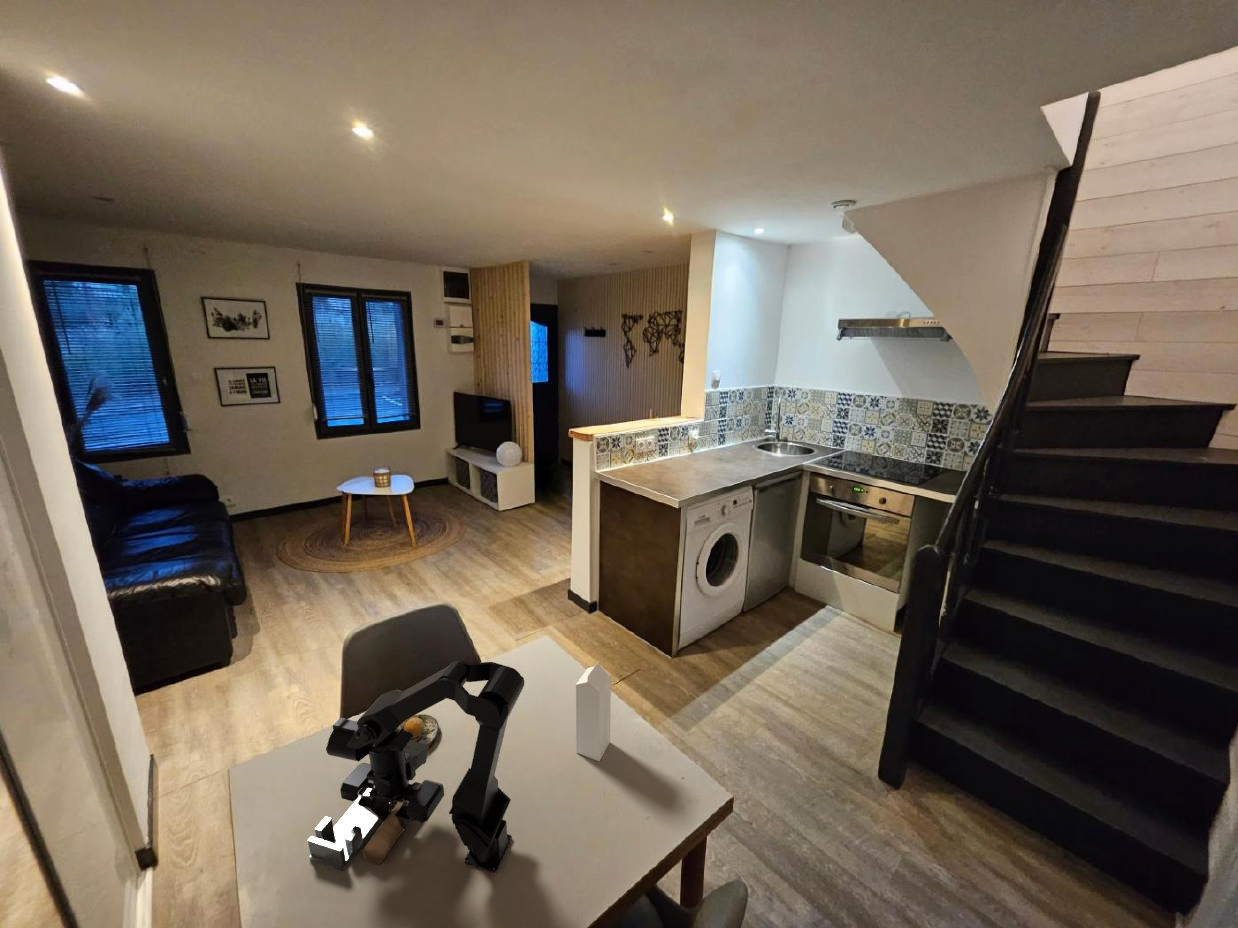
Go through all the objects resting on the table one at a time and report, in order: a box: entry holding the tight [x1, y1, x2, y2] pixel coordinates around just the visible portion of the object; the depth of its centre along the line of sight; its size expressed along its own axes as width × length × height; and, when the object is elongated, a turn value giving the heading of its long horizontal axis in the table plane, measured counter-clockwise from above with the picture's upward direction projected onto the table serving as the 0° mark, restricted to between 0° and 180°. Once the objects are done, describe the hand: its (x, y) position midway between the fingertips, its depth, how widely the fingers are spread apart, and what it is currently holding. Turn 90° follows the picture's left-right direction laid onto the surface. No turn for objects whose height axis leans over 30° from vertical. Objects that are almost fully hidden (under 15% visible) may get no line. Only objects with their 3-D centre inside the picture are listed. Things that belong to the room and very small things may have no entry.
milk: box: [575, 660, 612, 762], centre depth 108 cm, size 6×6×22 cm
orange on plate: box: [398, 713, 441, 752], centre depth 112 cm, size 12×12×8 cm
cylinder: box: [362, 802, 405, 866], centre depth 92 cm, size 13×4×4 cm, turn 165°
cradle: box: [307, 782, 410, 872], centre depth 94 cm, size 8×18×4 cm, turn 166°
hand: (397, 824), depth 92 cm, fingers closed on cylinder, 4 cm apart
